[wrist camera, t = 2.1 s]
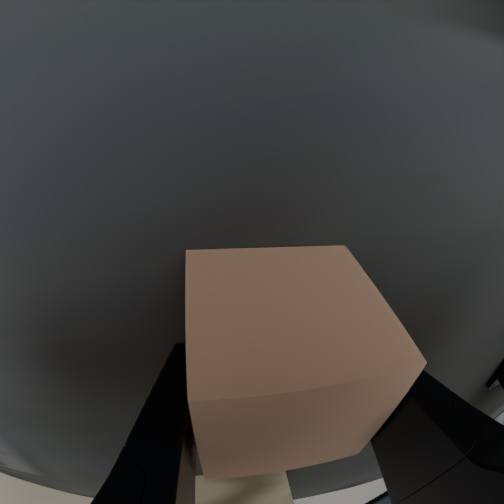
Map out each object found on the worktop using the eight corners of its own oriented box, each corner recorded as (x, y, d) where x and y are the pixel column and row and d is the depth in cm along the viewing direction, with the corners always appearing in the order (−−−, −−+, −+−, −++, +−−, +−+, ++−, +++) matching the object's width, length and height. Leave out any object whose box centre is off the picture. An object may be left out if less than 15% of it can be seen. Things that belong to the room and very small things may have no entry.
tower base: (283, 463, 19) (293, 504, 16) (270, 489, 23) (277, 520, 20) (171, 472, 18) (175, 515, 15) (184, 496, 22) (187, 528, 19)
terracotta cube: (344, 245, 9) (427, 362, 5) (316, 349, 11) (358, 453, 8) (186, 249, 8) (187, 400, 4) (194, 359, 11) (204, 479, 7)
